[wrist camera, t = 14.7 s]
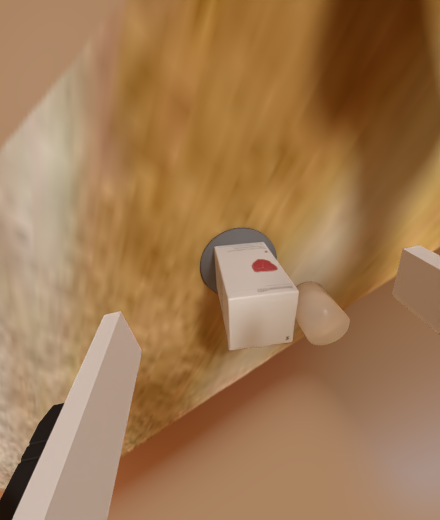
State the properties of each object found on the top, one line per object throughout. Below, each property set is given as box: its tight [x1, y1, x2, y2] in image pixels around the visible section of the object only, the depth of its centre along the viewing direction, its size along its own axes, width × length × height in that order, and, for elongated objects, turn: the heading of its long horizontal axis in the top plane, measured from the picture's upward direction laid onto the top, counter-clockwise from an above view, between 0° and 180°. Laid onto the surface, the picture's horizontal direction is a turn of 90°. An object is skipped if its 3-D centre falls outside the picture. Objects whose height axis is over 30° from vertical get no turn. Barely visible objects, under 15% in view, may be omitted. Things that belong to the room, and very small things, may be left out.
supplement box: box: [214, 242, 299, 351], centre depth 36 cm, size 9×9×15 cm
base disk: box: [200, 228, 277, 293], centre depth 43 cm, size 14×14×1 cm
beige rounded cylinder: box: [295, 282, 350, 345], centre depth 46 cm, size 8×8×9 cm
